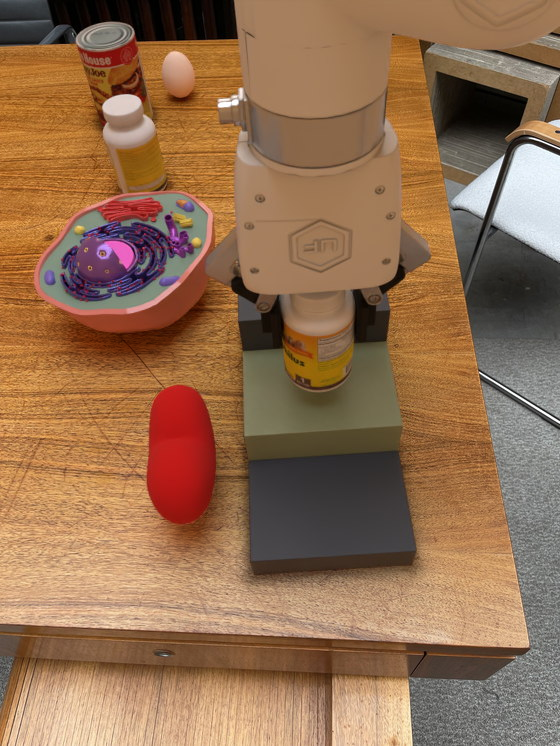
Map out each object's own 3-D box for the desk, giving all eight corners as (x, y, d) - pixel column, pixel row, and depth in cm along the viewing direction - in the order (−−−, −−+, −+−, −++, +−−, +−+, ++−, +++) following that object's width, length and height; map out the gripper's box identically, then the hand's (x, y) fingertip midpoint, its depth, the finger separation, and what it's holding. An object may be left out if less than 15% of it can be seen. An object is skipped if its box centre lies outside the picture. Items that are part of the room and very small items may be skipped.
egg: (173, 108, 96) (164, 64, 90) (161, 93, 98) (152, 50, 93) (202, 98, 97) (195, 54, 91) (190, 84, 99) (182, 41, 94)
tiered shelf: (369, 318, 68) (376, 239, 59) (412, 564, 52) (430, 506, 43) (248, 327, 68) (237, 249, 60) (253, 575, 52) (239, 518, 43)
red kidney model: (165, 437, 60) (141, 374, 53) (222, 431, 61) (207, 367, 53) (161, 555, 53) (132, 504, 45) (225, 549, 53) (208, 496, 45)
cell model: (260, 281, 72) (251, 199, 63) (131, 396, 64) (99, 320, 55) (157, 224, 79) (136, 143, 70) (28, 320, 71) (-15, 243, 62)
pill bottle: (177, 189, 84) (158, 106, 74) (132, 208, 82) (108, 126, 72) (154, 166, 87) (134, 84, 78) (111, 184, 85) (85, 102, 76)
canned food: (90, 118, 95) (64, 36, 86) (134, 97, 98) (114, 16, 88) (118, 139, 91) (94, 56, 82) (163, 117, 94) (145, 34, 85)
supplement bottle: (275, 354, 54) (266, 265, 46) (336, 334, 55) (338, 244, 46) (299, 405, 50) (293, 319, 42) (363, 383, 51) (370, 295, 43)
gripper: (152, 166, 32) (205, 378, 47) (492, 141, 32) (439, 362, 46) (162, 88, 37) (207, 303, 51) (459, 65, 36) (421, 288, 51)
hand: (317, 330), depth 49 cm, fingers closed on supplement bottle, 5 cm apart
